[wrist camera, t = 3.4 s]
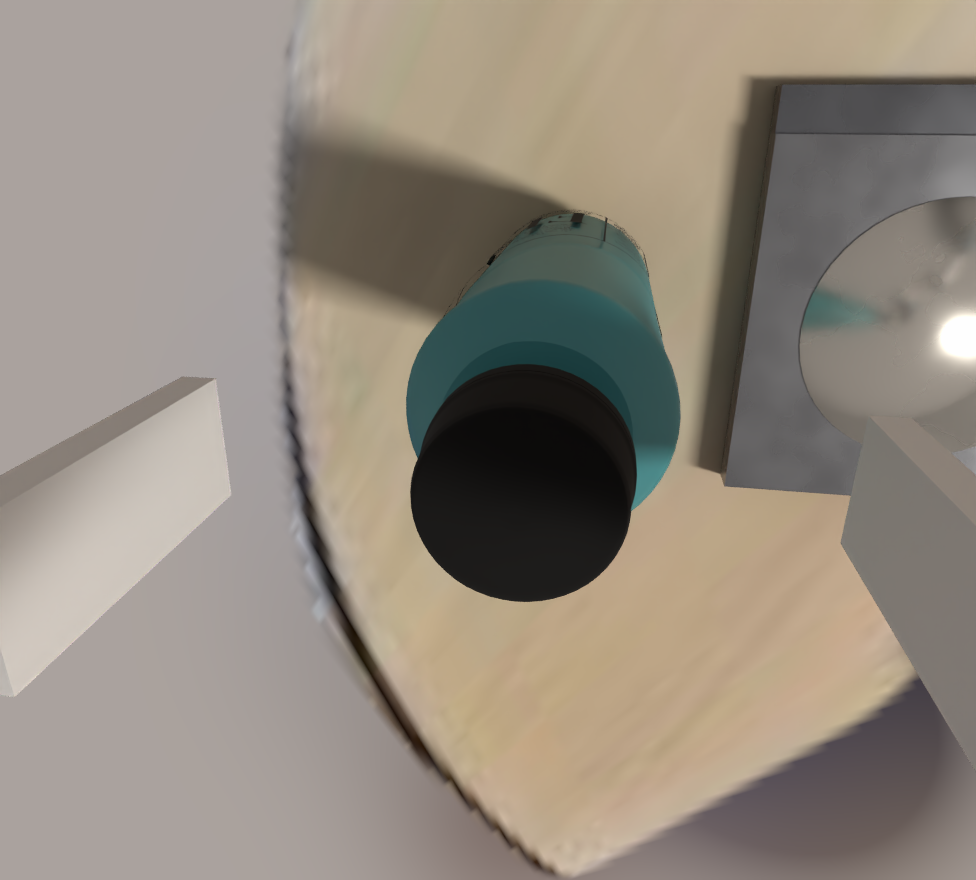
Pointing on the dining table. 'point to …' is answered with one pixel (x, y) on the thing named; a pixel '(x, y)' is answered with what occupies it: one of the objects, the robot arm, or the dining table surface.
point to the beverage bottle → (541, 413)
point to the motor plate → (857, 283)
